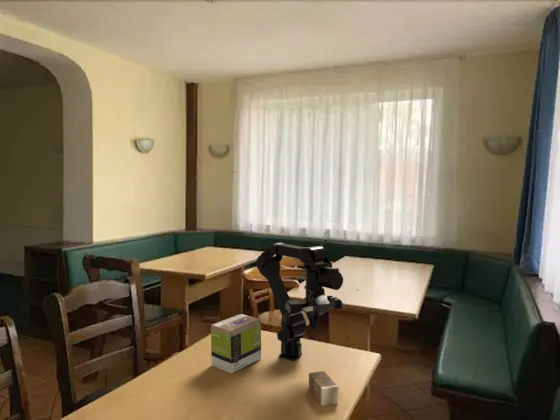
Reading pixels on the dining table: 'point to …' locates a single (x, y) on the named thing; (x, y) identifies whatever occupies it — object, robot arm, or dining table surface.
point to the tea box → (235, 342)
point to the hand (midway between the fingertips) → (313, 329)
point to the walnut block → (323, 388)
